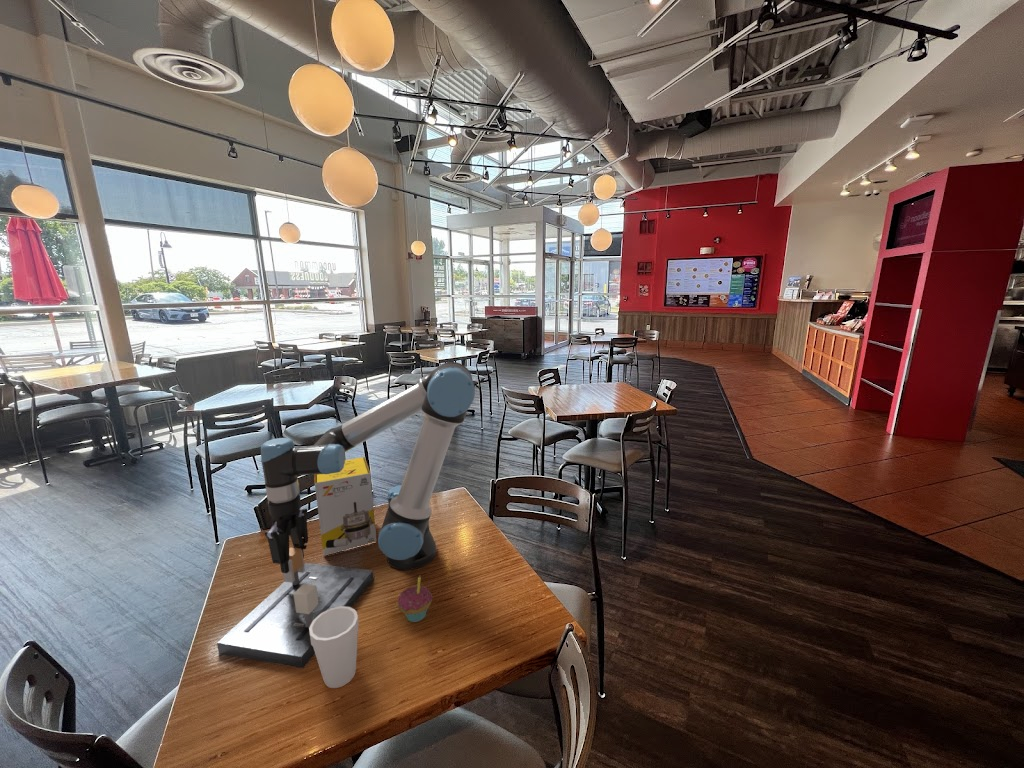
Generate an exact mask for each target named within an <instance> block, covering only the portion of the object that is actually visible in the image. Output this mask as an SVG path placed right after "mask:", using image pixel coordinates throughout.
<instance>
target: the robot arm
mask: <svg viewBox="0 0 1024 768" xmlns="http://www.w3.org/2000/svg"><path fill="white" fill-rule="evenodd" d="M475 388H476V387H475V384H474V381H473V376H472V374H471V372H470V370H469V368H467V367H466V366H465V365H464V364H462V363H460V362H455V361H447V362H444V363H442V364H441V365H439V366H437V367H436V368H435V369H433V370H432V371H430V372H429V373H427V374H425V375H424V376H421V377H420V378H419V380H418V383H416V384H415V385H412V386H410V387H409V388H407V389H405V390H403V391H401V392H399V393H398V394H395V395H394V396H392V397H391V398H388V399H387V400H384V401H382V402H380V403H379V404H377V405H375V406H374V407H372V408H370V409H367V410H365V412H362V413H360V414H358V415H357V416H355V417H352V418H351V419H350V420H347V421H345V422H344V423H342V424H340V425H338V426H334V427H331V428H330V429H329V430H327V431H325V432H324V433H323V434H322V436H321V437H320V438H319V439H318V440H317V441H316V442H315V443H314V444H312V445H304V446H297V445H296V446H295V444H294V440H293V439H291V438H289V437H279V438H272V439H270V440H267V441H265V442H264V443H262V444H261V446H260V463H261V466H262V472H263V477H264V485H265V491H266V499H267V507H268V512H269V515H270V516H271V518H272V524H271V525H272V526H271V528H270V530H266V531H264V536H265V538H266V539H267V541H268V547H269V551H270V556H271V557H270V558H271V561H272V562H271V563H272V564H275V565H276V564H277V565H280V571H281V573H282V577H283V583H284V582H292V583H293V582H294V581H295V578H294V572H293V564H292V559H289V548H290V541H291V544H292V546H293V547H292V548H300V549H301V551H302V559H303V566H302V567H301V568H300V569H298V572H301V573H304V572H305V567H304V564H305V561H304V558H305V554H304V550H306V549H307V543H308V542H309V531H308V521H307V519H308V518H307V516H308V508H306V507H305V508H303V507H302V502H301V494H300V493H301V491H300V483H299V477H298V476H307V475H308V476H310V475H311V476H313V475H314V476H315V474H331V473H338V472H340V471H342V469H343V468H344V464H345V460H346V453H347V452H348V451H350V450H352V449H353V448H355V447H357V446H358V445H360V444H362V443H364V442H366V441H368V440H371V438H373V437H375V436H377V435H379V434H381V433H383V432H386V430H388V429H390V428H392V427H394V426H396V425H398V424H399V423H401V422H403V421H406V420H407V419H409V418H411V417H412V416H414V415H416V414H418V413H420V412H421V413H422V414H423V416H424V418H423V421H422V424H421V426H420V430H419V433H418V435H417V439H416V441H415V445H414V448H413V450H412V453H411V455H410V456H411V457H410V460H409V462H408V465H407V467H406V468H407V469H406V472H405V475H404V476H403V477H404V478H403V480H402V484H398V485H396V486H393V487H391V488H390V489H389V490H388V492H387V501H388V504H387V505H388V507H387V510H386V514H385V516H384V519H383V523H382V525H381V528H380V529H379V532H378V534H377V537H378V538H377V544H378V548H379V550H380V551H381V552H382V554H383V555H384V556H386V557H387V558H386V560H387V563H388V565H389V566H390V567H392V568H394V569H397V570H403V571H405V570H407V571H408V570H416V569H418V568H421V567H424V566H426V565H427V564H429V563H431V562H432V561H433V560H434V559H435V557H436V555H437V544H436V541H435V539H434V537H433V534H432V533H431V530H430V524H429V523H430V519H431V515H432V508H431V506H430V501H431V499H432V495H433V493H434V490H435V487H436V484H437V481H438V478H439V475H440V473H441V469H442V466H443V464H444V461H445V458H446V455H447V452H448V450H449V446H450V444H451V441H452V438H453V435H454V433H455V430H456V427H458V426H460V425H461V424H463V423H464V421H465V418H466V415H467V412H468V409H469V408H470V407H471V405H473V403H474V399H475V395H476V389H475ZM290 539H291V540H290Z"/></svg>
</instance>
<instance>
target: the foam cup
mask: <svg viewBox="0 0 1024 768" xmlns="http://www.w3.org/2000/svg"><path fill="white" fill-rule="evenodd" d="M359 627H360V624H359V616H358V612H357V610H356V609H354V608H353V607H352V608H351V607H345V606H340V607H335V608H331V609H329V610H327V611H325V612H323V613H321V614H320V615H318V616H317V617H316V618H315V619H314V620H313V621H312V623H311V625H310V627H309V632H310V639H311V645H312V646H313V648H314V651H315V654H314V656H315V657H316V661H317V663H318V667H319V670H320V673H321V677H322V679H323V682H324V685H326V686H327V687H328V688H329V689H330V688H331V689H337V688H341V687H343V686H346V685H347V684H348V683H350V682H351V681H352V680H353V678H354V677H355V674H356V670H357V655H358V654H357V653H358V636H359V635H358V634H359Z"/></svg>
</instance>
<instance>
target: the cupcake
mask: <svg viewBox="0 0 1024 768" xmlns="http://www.w3.org/2000/svg"><path fill="white" fill-rule="evenodd" d="M432 600H433V594H432V592H431V591H430V590H429V588H428V587H426V586H421V575H419V576H418V577H417V585H413V586H409V587H407V588H406V589H405V590H403V591H402V592H401V593H400V594H399V596H398V599H397V609H398V610H399V611H400V612H401V613H402V614H404V615H405V616H406V619H407V621H410V622H411V623H412V622H413V623H415V622H416V623H417V622H421V621H422V620H423V619H425V617H426V614H427V612H428V610H429V607H430V606H431V605H432V602H433V601H432Z"/></svg>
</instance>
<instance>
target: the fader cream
mask: <svg viewBox="0 0 1024 768" xmlns="http://www.w3.org/2000/svg"><path fill="white" fill-rule="evenodd" d="M294 601H295V608H296V612H297V613H304V617H305V624H306V627H310V625H311V623H312V621H313V615H312V610H313V609H314V608H315V607H316V606H317V605H318V596H317V588H316V585H309V584H303V585H302V586H301V587H300V588H299V589H298V590H297V591H296V592H295V593H294Z"/></svg>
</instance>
